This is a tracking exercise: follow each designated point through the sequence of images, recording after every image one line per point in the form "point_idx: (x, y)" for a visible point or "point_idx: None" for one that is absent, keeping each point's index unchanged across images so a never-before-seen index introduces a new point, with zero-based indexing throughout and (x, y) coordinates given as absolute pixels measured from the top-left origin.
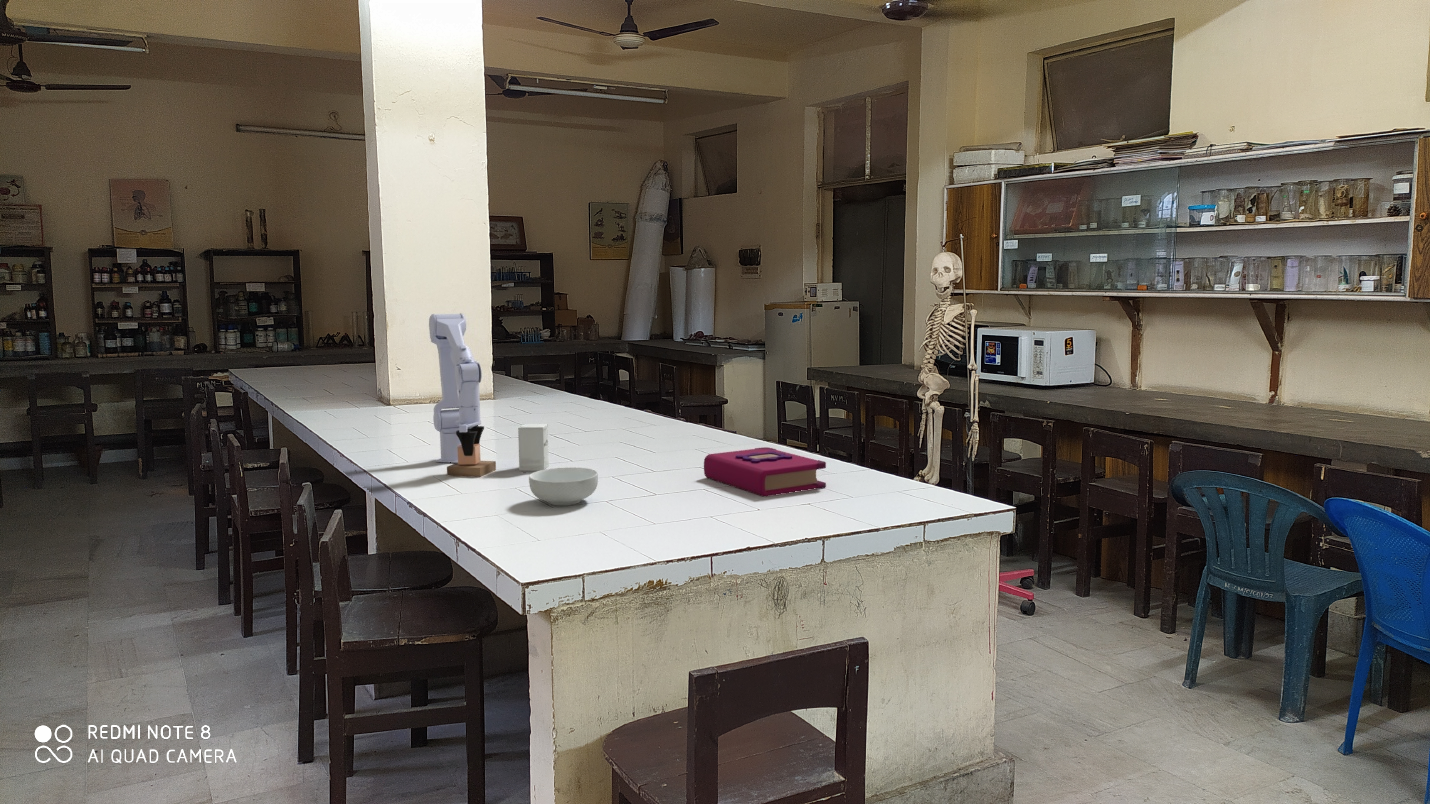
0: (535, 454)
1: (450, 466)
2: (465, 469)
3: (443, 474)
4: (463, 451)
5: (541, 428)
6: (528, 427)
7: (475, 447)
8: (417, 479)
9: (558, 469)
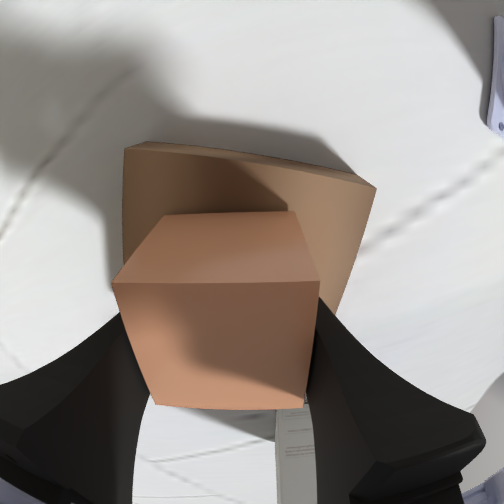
0: (276, 478)
1: (132, 171)
2: None
3: (180, 104)
4: (118, 314)
5: None
6: None
7: (164, 400)
8: (58, 41)
9: None
